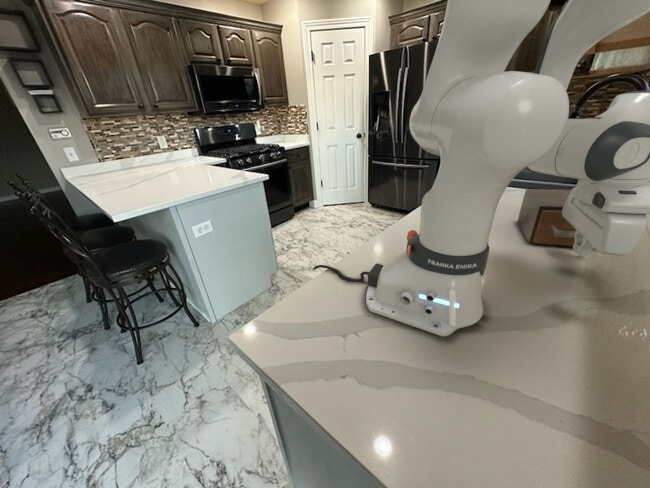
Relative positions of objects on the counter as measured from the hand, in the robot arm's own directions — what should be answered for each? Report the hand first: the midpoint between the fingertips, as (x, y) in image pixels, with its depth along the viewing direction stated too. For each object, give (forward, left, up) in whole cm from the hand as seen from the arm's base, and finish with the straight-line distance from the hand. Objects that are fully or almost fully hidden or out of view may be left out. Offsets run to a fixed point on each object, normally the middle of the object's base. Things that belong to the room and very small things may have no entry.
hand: (580, 252), depth 56 cm
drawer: (+1, +15, -4) cm, 16 cm away
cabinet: (+1, +20, -5) cm, 20 cm away
